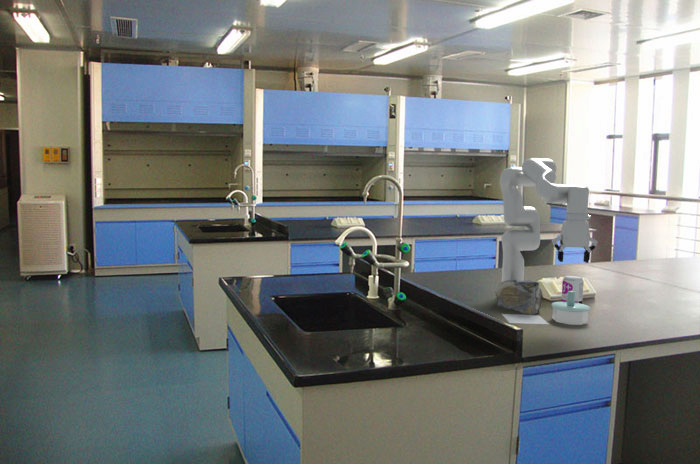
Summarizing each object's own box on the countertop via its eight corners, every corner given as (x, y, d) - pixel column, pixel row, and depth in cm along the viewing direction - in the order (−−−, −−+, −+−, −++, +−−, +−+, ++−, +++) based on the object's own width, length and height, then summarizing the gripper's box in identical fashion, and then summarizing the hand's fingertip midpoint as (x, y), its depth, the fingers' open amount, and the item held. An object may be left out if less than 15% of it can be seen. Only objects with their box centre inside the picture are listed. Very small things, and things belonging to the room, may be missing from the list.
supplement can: (568, 314, 238) (571, 278, 236) (556, 310, 246) (558, 275, 244) (585, 314, 240) (588, 278, 239) (573, 309, 248) (575, 274, 246)
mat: (501, 314, 235) (501, 313, 235) (538, 316, 234) (538, 315, 234) (509, 324, 221) (509, 322, 221) (549, 325, 221) (549, 324, 221)
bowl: (549, 317, 233) (550, 303, 233) (579, 318, 233) (580, 304, 232) (559, 324, 221) (560, 310, 221) (590, 325, 221) (591, 311, 220)
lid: (546, 303, 234) (547, 287, 233) (582, 304, 233) (583, 288, 233) (558, 311, 220) (559, 294, 219) (595, 312, 219) (596, 295, 219)
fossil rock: (494, 315, 250) (492, 280, 252) (509, 314, 255) (507, 279, 257) (531, 315, 233) (529, 278, 235) (547, 314, 238) (544, 278, 240)
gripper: (595, 217, 226) (592, 260, 228) (550, 216, 227) (547, 259, 229) (603, 219, 219) (599, 264, 221) (556, 218, 220) (553, 262, 221)
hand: (573, 261), depth 225 cm, fingers open, 9 cm apart
